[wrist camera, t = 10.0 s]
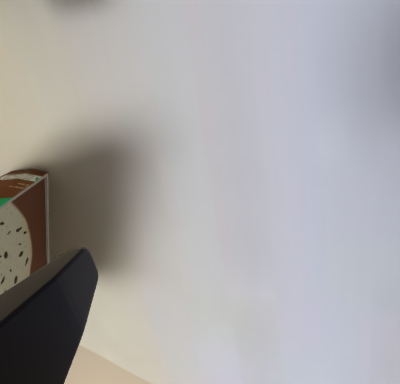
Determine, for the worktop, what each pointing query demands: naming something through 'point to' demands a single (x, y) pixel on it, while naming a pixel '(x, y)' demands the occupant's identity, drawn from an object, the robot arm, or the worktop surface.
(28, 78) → the worktop surface
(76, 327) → the robot arm
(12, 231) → the food container
